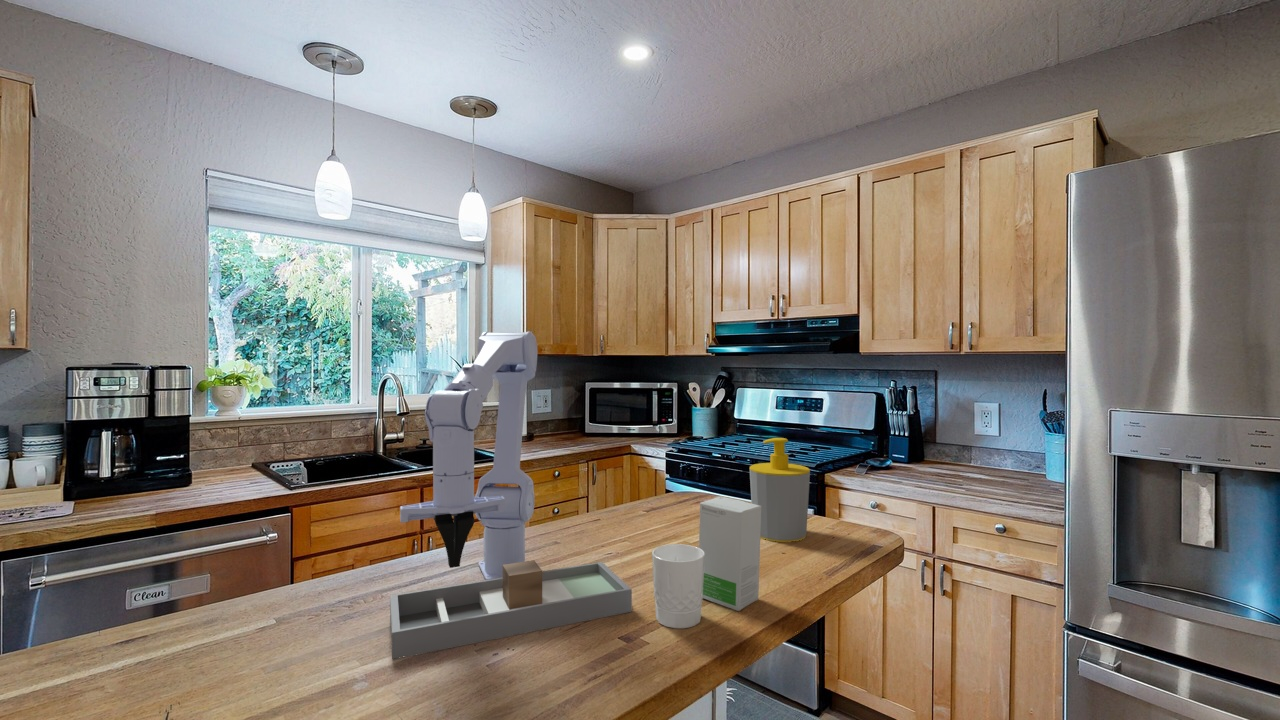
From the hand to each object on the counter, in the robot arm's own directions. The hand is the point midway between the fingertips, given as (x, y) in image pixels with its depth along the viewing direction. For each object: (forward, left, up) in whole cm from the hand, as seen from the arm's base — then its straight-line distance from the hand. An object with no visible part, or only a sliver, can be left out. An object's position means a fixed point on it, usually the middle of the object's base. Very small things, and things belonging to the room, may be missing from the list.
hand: (454, 565), depth 84 cm
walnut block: (0, +10, -7) cm, 12 cm away
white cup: (+11, +31, -9) cm, 34 cm away
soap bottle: (-16, +71, -9) cm, 73 cm away
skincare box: (+8, +42, -9) cm, 44 cm away
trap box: (0, +9, -9) cm, 12 cm away
